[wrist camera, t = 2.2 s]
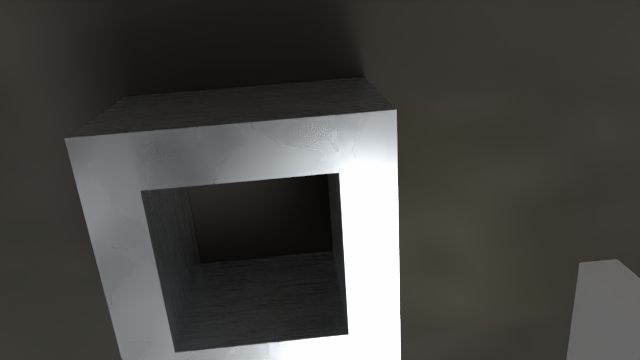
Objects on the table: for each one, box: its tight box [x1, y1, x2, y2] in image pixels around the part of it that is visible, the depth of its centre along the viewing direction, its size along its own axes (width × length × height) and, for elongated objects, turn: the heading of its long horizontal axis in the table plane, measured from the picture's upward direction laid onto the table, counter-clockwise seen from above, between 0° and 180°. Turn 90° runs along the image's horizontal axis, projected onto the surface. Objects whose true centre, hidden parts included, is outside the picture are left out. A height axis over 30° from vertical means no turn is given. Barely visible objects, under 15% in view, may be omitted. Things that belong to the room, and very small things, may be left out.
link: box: [64, 77, 401, 360], centre depth 16 cm, size 8×8×5 cm
